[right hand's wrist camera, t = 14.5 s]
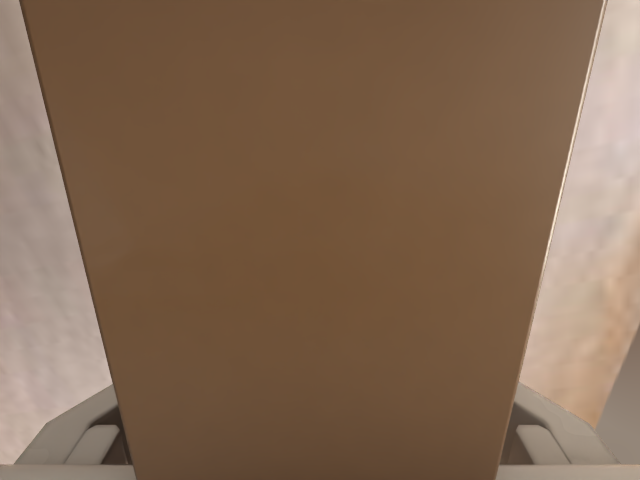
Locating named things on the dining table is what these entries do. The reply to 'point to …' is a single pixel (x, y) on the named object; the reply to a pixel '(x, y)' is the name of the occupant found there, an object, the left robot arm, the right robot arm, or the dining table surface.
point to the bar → (314, 220)
